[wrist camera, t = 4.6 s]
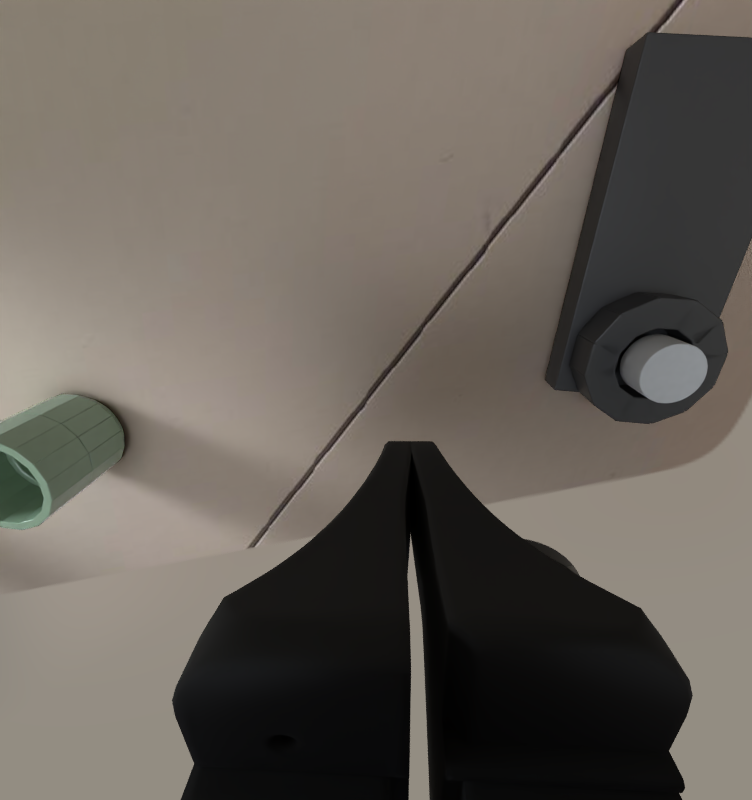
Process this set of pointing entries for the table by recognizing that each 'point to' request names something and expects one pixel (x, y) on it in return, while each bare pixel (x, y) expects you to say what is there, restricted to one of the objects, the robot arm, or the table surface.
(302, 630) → the robot arm
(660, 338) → the button
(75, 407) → the green faceted cup
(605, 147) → the scale
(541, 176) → the table surface
